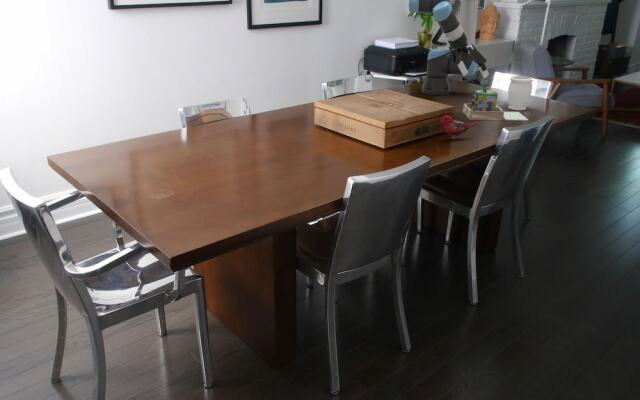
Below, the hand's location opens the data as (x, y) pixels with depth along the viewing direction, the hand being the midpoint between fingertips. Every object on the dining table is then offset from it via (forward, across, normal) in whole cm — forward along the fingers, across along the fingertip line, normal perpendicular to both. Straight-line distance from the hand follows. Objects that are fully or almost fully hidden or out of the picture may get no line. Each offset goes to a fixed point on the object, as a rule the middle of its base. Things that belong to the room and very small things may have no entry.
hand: (476, 75), depth 236 cm
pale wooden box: (+18, 0, -7) cm, 20 cm away
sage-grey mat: (+26, +6, +3) cm, 27 cm away
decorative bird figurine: (+1, +24, -36) cm, 43 cm away
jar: (+33, -4, +14) cm, 36 cm away
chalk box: (+19, 0, -7) cm, 20 cm away
